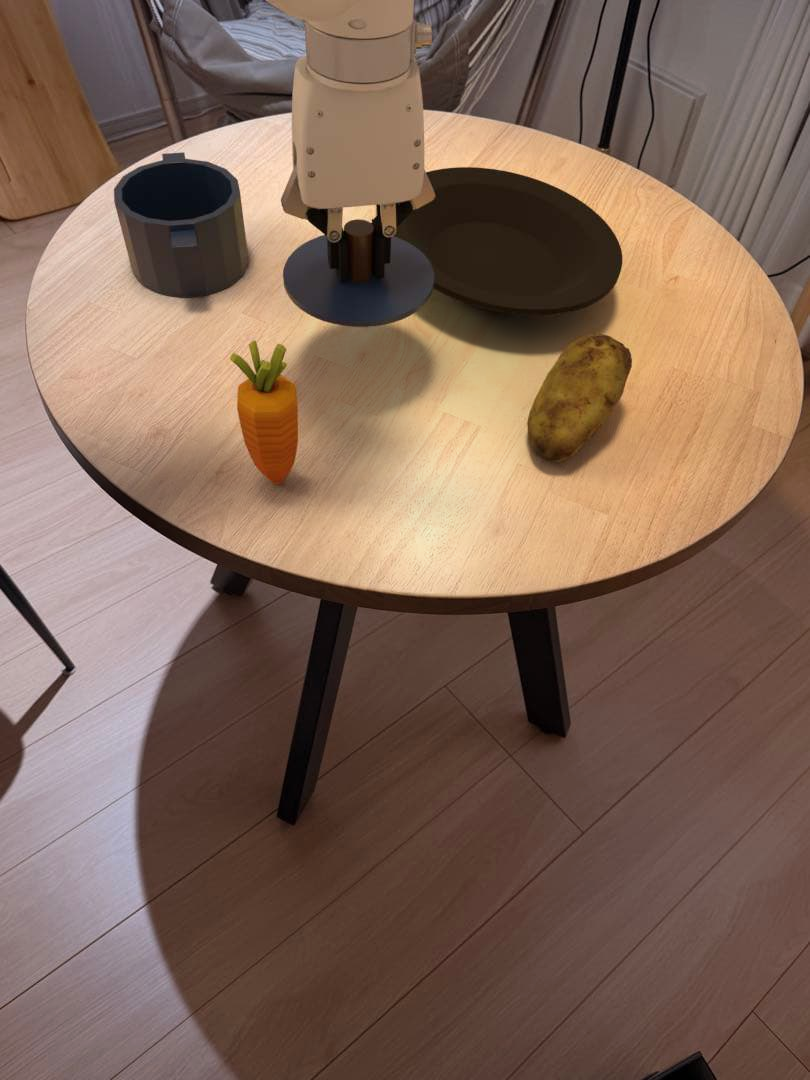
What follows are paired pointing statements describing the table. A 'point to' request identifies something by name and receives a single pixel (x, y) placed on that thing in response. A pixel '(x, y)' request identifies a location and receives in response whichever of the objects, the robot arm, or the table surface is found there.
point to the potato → (577, 396)
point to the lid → (358, 280)
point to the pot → (182, 226)
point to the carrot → (268, 413)
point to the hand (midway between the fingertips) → (358, 269)
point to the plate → (513, 243)
